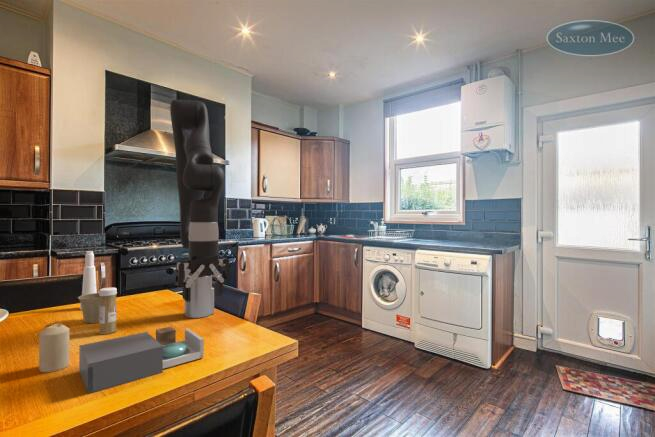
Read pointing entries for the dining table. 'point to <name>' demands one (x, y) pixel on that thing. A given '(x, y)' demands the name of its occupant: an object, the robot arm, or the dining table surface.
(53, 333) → the candle
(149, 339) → the block
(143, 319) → the dining table surface
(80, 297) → the flower pot
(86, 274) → the cosmetic bottle
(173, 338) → the block
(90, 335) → the dining table surface
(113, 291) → the sprinkles bottle
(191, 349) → the tray
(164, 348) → the teal flattened disc
